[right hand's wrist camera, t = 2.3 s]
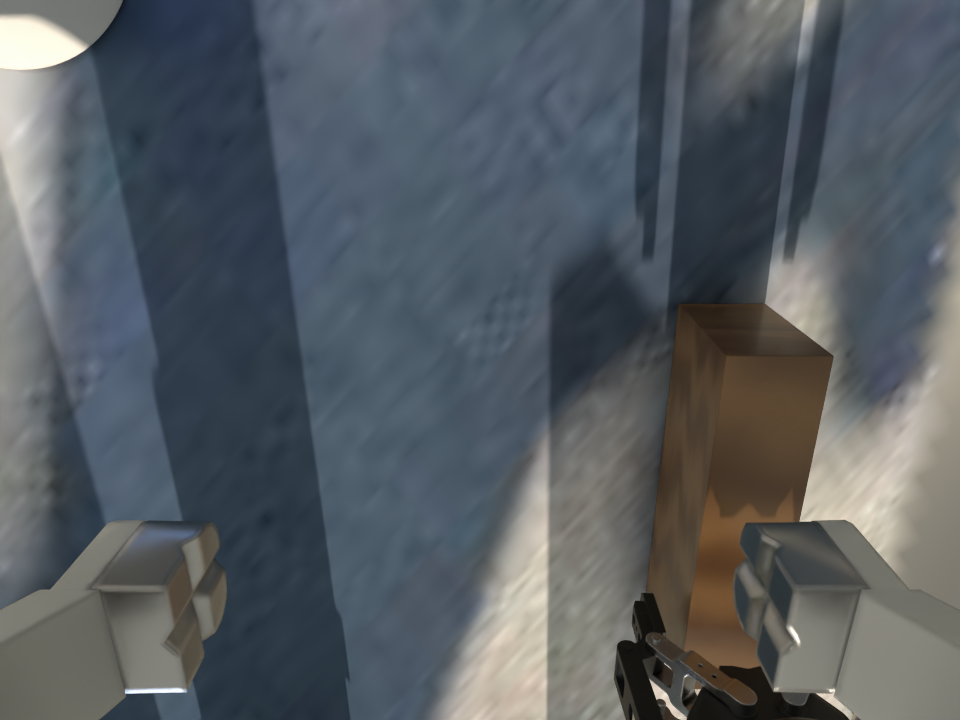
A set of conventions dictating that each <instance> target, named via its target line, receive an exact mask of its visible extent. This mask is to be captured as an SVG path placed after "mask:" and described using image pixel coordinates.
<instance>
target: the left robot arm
mask: <svg viewBox="0 0 960 720" xmlns="http://www.w3.org/2000/svg"><path fill="white" fill-rule="evenodd" d="M632 626H633V630H634V634H635V637H636V641H637V643H633V642H632V641H628V640H623V641H620V642H619V643H618V645H617V653H616V663H615V673H614V681H615V684H616V687H617V691H618V694H619V698H620V701H621V705H622V708H623V711H624V715H625V718H626V720H679V719H677V718H676V717H674V716H673V715H672V713H671V712H670V710H669V709H668V708H667V707H666V703H665V701H664V700H662V699H657V700H656V698H655V695H654V692H653V689H652V686H651V683H650V680H651V681H653V682H654V683H655V684H656V685H657V686H659V687H660V688H661V689H662V690H664V691H665V692H666V693H667V694H668V696H669V699H670V701H671V703H672V705H673V706H674V707H675V708H676V709H678V710H679V711H680V712H681V713H682V714H684V715H685V716H686V717H687V720H849V719H848V718H847V716H846V715H845V714H843V713H842V712H841V711H840V710H838V709H837V708H835V707H834V706H832V705H831V704H830V703H828V702H827V701H825V700H824V699H823V698H821V697H820V696H818V695H817V694H816V693H794V692H773V690H772V688H771V686H770V684H769V682H768V680H767V678H766V676H765V674H764V672H763V670H762V668H761V666H758V667H754V668H749V669H747V668H742V667H737V666H719V669H718V668H716V667H715V666H714V665H712V664H711V663H710V662H708V661H707V660H705V659H704V658H703V657H701V656H700V655H699V654H697V653H696V652H695V651H692V650H689V651H688V652H685V651H683V650H682V649H681V648H679V647H678V646H677V645H675V644H674V643H673V642H671V641H670V640H669V639H667V638H666V630H665V627H664V624H663V621H662V618H661V615H660V612H659V609H658V606H657V603H656V600H655V597H654V594H653V593H641V599H640V601H635V603H634V608H633V617H632ZM664 663H665V664H667V665H668V666H669V667H670V668H671V669H672V670H671V669H670V668H669V667H667V666H666V665H665V664H664ZM649 679H650V680H649ZM695 681H697V682H698V683H700V684H701V685H702V686H703V687H702V689H701V690H700V692H699V694H698V696H697V695H696V693H695V689H694V688H695ZM852 714H853V716H852V719H851V720H861V719H860V718H858V717H857V716H856V715H855V714H854V713H853V712H852Z"/></svg>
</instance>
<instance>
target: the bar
mask: <svg viewBox="0 0 960 720" xmlns="http://www.w3.org/2000/svg"><path fill="white" fill-rule="evenodd" d="M833 357H834V356H833V355H832V354H830V353H829V352H828V351H826V350H825V349H824V348H822V347H821V346H820V345H818V344H817V343H816V342H814V341H813V340H812V339H811V338H809V337H808V336H807V335H805V334H804V333H803V332H801V331H800V330H799V329H797V328H796V327H795V326H793V325H792V324H791V323H790V322H788V321H787V320H786V319H784V318H783V317H782V316H780V315H779V314H778V313H776V312H775V311H774V310H772V309H771V308H770V307H768V306H767V305H766V304H679V307H678V316H677V325H676V334H675V342H674V351H673V360H672V369H671V377H670V386H669V395H668V404H667V412H666V421H665V430H664V439H663V447H662V456H661V465H660V474H659V482H658V491H657V500H656V509H655V517H654V526H653V535H652V544H651V552H650V561H649V570H648V579H647V587H646V593H653V594H654V597H655V600H656V603H657V606H658V609H659V612H660V615H661V618H662V621H663V624H664V627H665V630H666V638H667V639H669V640H670V641H671V642H673V643H674V644H675V645H677V646H678V647H679V648H681V649H682V650H683V651H685V652H688V651H689V650H692V651H695V652H696V653H697V654H699V655H700V656H701V657H703V658H704V659H705V660H707V661H708V662H710V663H711V664H712V665H714V666H715V667H716V668H718V669H719V666H737V667H742V668H747V669H749V668H754V667H758V666H760V664H759V662H758V660H757V658H756V656H755V654H756V648H757V643H758V642H757V641H756V640H755V639H753V638H752V637H750V636H749V635H748V634H746V633H745V632H744V631H743V629H742V627H741V624H740V622H739V620H738V617H737V614H736V610H735V607H734V597H733V581H734V573H735V569H736V568H737V567H738V566H739V565H740V564H741V563H742V562H743V561H744V560H745V559H746V556H745V555H744V553H743V551H742V549H741V547H740V546H739V543H740V538H741V532H742V530H743V528H744V526H745V524H746V523H754V522H799V520H800V516H801V511H802V506H803V501H804V496H805V492H806V487H807V482H808V477H809V472H810V468H811V463H812V458H813V453H814V448H815V444H816V439H817V434H818V429H819V424H820V420H821V415H822V410H823V405H824V400H825V396H826V391H827V386H828V381H829V376H830V372H831V367H832V362H833ZM702 687H703V686H702V685H701V684H700V683H698V682H697V681H695V688H694V689H702Z"/></svg>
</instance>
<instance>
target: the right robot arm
mask: <svg viewBox="0 0 960 720" xmlns="http://www.w3.org/2000/svg"><path fill="white" fill-rule="evenodd" d="M122 2H123V0H0V68H5V69H17V70H28V69H39V68H44V67H49V66H53V65H56V64H59V63H62V62H64V61H67V60H69V59H71V58H73V57H75V56H77V55H78V54H80V53H81V52H83V51H84V50H86V49H87V48H88V47H90V46H91V45H92V44H93V43H94V42H95V41H96V40H98V39H99V38H100V36H101V35H102V34H103V33H104V32H105V31H106V29H107V28H108V27H109V25H110V24H111V22H112V21H113V19H114V18H115V16H116V14H117V12H118V10H119V8H120V6H121V4H122ZM220 546H221V543H220V539H219V534H218V529H217V526H215V525H214V524H213V523H212V522H197V521H150V520H149V521H144V520H116V521H113V522H110V523H108V524H107V525H106V526H105V527H104V528H103V529H102V530H101V532H100V533H99V534H98V535H97V536H96V537H95V538H94V540H93V541H92V542H91V543H90V544H89V545H88V547H87V548H86V549H85V550H84V551H83V552H82V554H81V555H80V556H79V557H78V558H77V559H76V560H75V562H74V563H73V564H72V565H71V566H70V567H69V569H68V570H67V571H66V572H65V573H64V574H63V576H62V577H61V578H60V579H59V580H58V581H57V582H56V584H55V585H54V586H53V587H52V588H51V589H50V590H38V591H36V592H34V593H32V594H30V595H28V596H26V597H24V598H22V599H21V600H19V601H17V602H15V603H13V604H11V605H9V606H7V607H5V608H3V609H1V610H0V720H100V719H101V718H102V717H103V716H104V715H105V714H107V713H108V712H109V711H110V710H111V709H112V708H114V707H115V706H116V705H117V704H118V703H120V702H121V701H122V700H123V699H124V698H125V697H126V694H130V693H164V692H187V690H188V688H189V686H190V684H191V682H192V680H193V678H194V676H195V674H196V672H197V670H198V668H199V666H200V664H201V662H202V660H203V658H204V656H205V654H204V648H203V643H202V642H203V641H204V640H205V639H207V638H208V637H210V636H211V635H212V634H214V633H215V632H216V631H217V629H218V626H219V624H220V622H221V620H222V618H223V614H224V609H225V604H226V600H227V579H226V573H225V569H224V568H223V567H222V566H221V565H220V564H219V563H218V562H217V561H216V560H215V559H214V557H215V555H216V553H217V551H218V549H219V547H220ZM739 546H740V547H741V549H742V551H743V553H744V555H745V556H746V559H745V560H744V561H743V562H742V563H741V564H740V565H739V566H738V567H737V568H736V569H735V573H734V581H733V597H734V607H735V610H736V614H737V617H738V620H739V622H740V624H741V627H742V629H743V631H744V632H745V633H746V634H748V635H749V636H750V637H752V638H753V639H755V640H756V641H757V642H758V643H757V648H756V654H755V656H756V658H757V660H758V662H759V664H760V666H761V668H762V670H763V672H764V674H765V676H766V678H767V680H768V682H769V684H770V686H771V688H772V690H773V692H794V693H830V694H834V697H835V698H836V699H837V700H838V701H840V702H841V703H842V704H843V705H844V706H846V707H847V708H848V709H849V710H850V711H851V712H853V713H854V714H855V715H856V716H857V717H858V718H860V719H861V720H960V610H959V609H957V608H955V607H953V606H951V605H949V604H947V603H945V602H943V601H941V600H939V599H937V598H936V597H934V596H932V595H930V594H928V593H926V592H924V591H922V590H910V589H909V588H908V587H907V586H906V585H905V584H904V582H903V581H902V580H901V579H900V578H899V577H898V576H897V574H896V573H895V572H894V571H893V570H892V569H891V567H890V566H889V565H888V564H887V563H886V562H885V560H884V559H883V558H882V557H881V556H880V555H879V554H878V552H877V551H876V550H875V549H874V548H873V547H872V545H871V544H870V543H869V542H868V541H867V540H866V539H865V537H864V536H863V535H862V534H861V533H860V532H859V530H858V529H857V528H856V527H855V526H854V525H853V524H852V523H850V522H848V521H846V520H826V521H811V522H754V523H746V524H745V526H744V528H743V530H742V532H741V538H740V543H739Z"/></svg>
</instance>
